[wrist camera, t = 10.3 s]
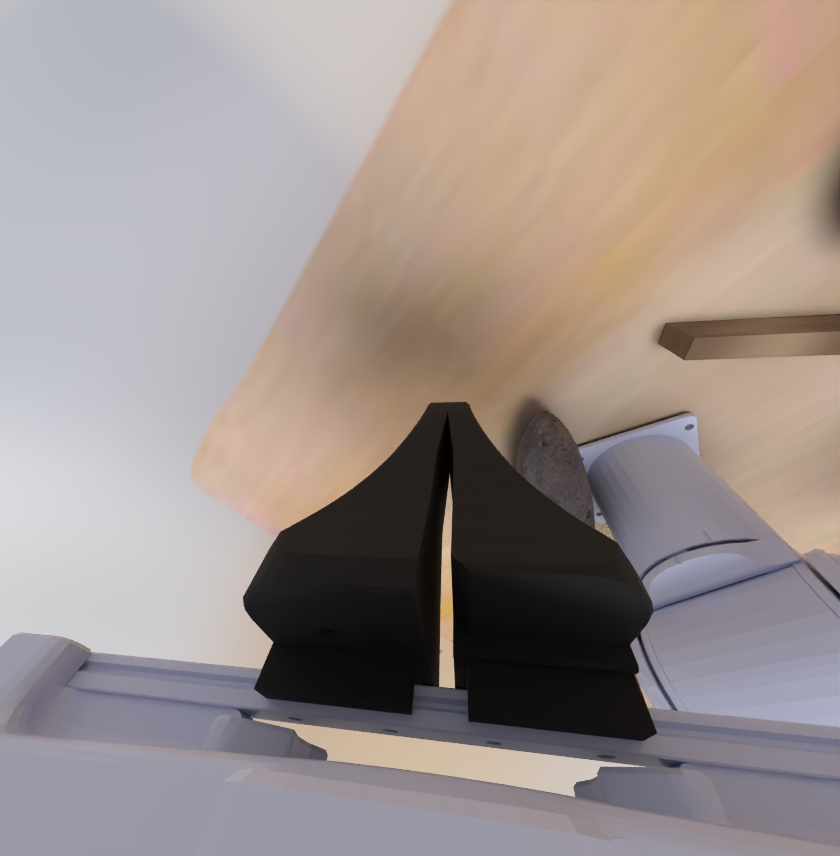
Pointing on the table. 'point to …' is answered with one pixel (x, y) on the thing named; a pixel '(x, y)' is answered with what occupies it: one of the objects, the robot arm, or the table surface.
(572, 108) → the table surface
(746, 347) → the tray
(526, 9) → the table surface
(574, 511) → the perforated stone tool
